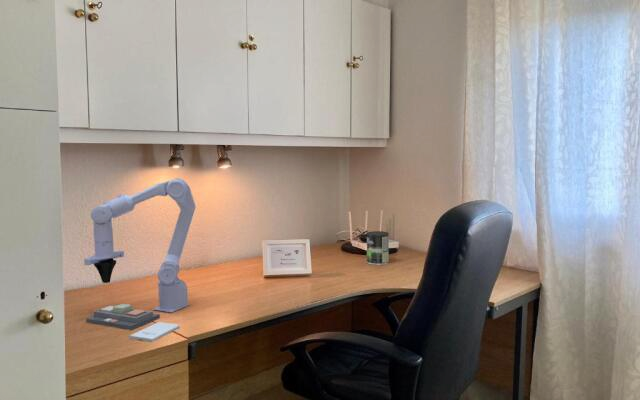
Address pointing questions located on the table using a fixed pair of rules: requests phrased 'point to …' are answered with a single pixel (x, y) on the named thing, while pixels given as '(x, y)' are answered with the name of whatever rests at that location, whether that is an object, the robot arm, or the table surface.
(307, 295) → the table surface
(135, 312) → the key
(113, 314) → the grey compartment tray
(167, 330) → the external hard drive
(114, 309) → the key
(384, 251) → the coffee can
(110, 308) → the key
